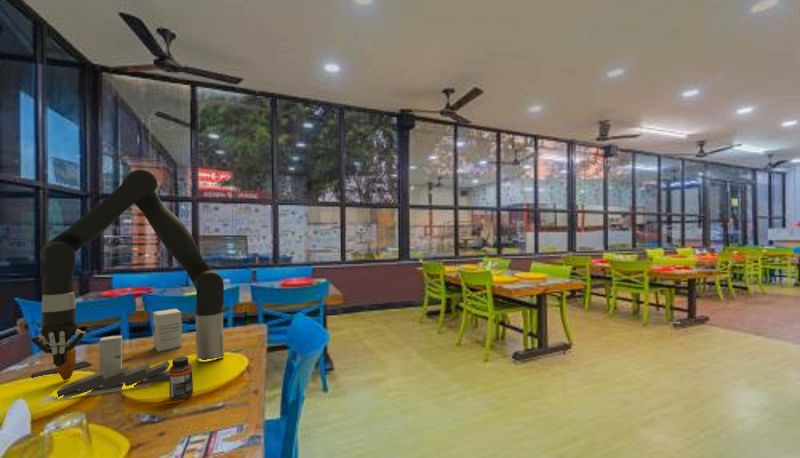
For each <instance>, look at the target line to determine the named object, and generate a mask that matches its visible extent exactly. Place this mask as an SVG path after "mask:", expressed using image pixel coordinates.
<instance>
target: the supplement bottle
mask: <svg viewBox="0 0 800 458" xmlns="http://www.w3.org/2000/svg"><path fill="white" fill-rule="evenodd" d="M168 371H169V380H168V385H169V399H170V400H172V401H183V400H185V399H189V398H190V397H191V396H193V392H194V385H193V383H194V381H193V365H192V363H190V362H189V357H188V356H186V355H185V356H177V357H175V358H173V359H172V365H171V366H170V368H168Z"/></svg>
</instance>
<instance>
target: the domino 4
mask: <svg viewBox="0 0 800 458" xmlns="http://www.w3.org/2000/svg"><path fill="white" fill-rule="evenodd" d="M165 381H166V382H167V381H168V382H169V370H166V371H163V372H161V373H159V374H156V375H154V376H151V377H149V378H146V383H151V384H152V383H153V384H154V383H159V382H160V383H161V382H165Z"/></svg>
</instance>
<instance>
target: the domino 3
mask: <svg viewBox="0 0 800 458" xmlns="http://www.w3.org/2000/svg"><path fill="white" fill-rule="evenodd" d="M169 367H170V362H169V360H166V361H164V362H161V363H159V364H158V363H157V364H156V365H154V366H150V369H149V371H148V372H147V373H146V374H143V375H141V376H138V377H136V378H133V379H131V380H128V381H126V382H124V383H125V385H126V386H129V385H132V384H134V383H137V382H139V381H142V380H144V379H146V378H149V377H151V376H154V375H156V374H159V373H161V372H163V371H168V370H169Z"/></svg>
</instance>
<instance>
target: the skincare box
mask: <svg viewBox="0 0 800 458" xmlns="http://www.w3.org/2000/svg"><path fill="white" fill-rule="evenodd" d="M122 348H123V336H122V335H119V334H118V335H111V336H103V337H100V340H99V372H101V371H104V370H106V369H108V371H109V373H112V372H115V371H117V370H120V369H122V368H123V367H122V366H123V365H122V364H123V362H122V360H123V359H122V358H123V357H122V356H123V349H122Z"/></svg>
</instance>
